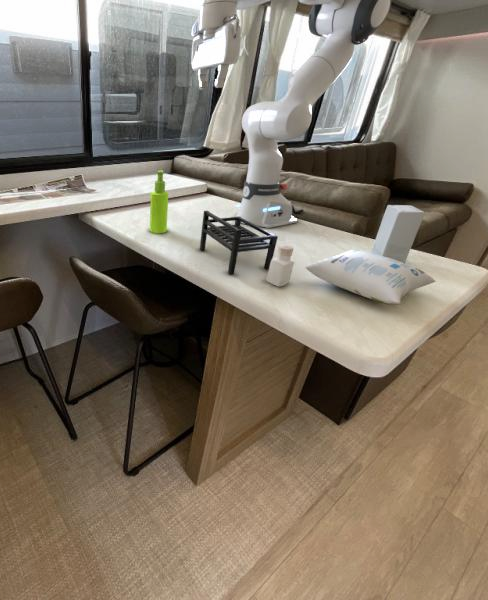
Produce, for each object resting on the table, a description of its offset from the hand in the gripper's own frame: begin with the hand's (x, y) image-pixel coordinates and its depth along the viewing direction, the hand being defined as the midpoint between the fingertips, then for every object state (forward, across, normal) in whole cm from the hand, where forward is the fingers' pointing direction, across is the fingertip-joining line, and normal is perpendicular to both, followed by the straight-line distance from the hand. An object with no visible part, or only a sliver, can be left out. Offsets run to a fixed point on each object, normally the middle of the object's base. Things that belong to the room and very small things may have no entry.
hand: (210, 88), depth 87 cm
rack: (+42, -20, -2) cm, 46 cm away
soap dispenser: (+42, +10, +10) cm, 44 cm away
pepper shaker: (+42, -36, -6) cm, 56 cm away
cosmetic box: (+42, -32, -43) cm, 68 cm away
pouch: (+42, -44, -23) cm, 65 cm away
